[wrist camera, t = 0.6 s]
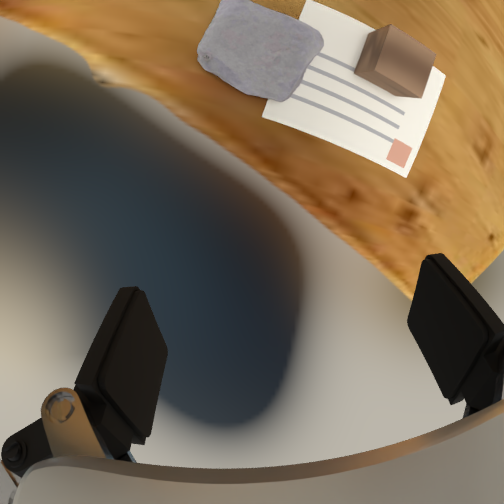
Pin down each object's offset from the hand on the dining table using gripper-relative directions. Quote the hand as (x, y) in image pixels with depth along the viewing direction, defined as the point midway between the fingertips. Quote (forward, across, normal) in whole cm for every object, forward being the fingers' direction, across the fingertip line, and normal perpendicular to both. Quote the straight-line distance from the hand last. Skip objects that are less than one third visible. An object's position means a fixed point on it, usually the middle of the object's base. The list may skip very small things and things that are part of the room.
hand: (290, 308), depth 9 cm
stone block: (+27, -1, -12) cm, 29 cm away
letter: (+26, -13, -7) cm, 30 cm away
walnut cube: (+26, -16, -10) cm, 33 cm away
